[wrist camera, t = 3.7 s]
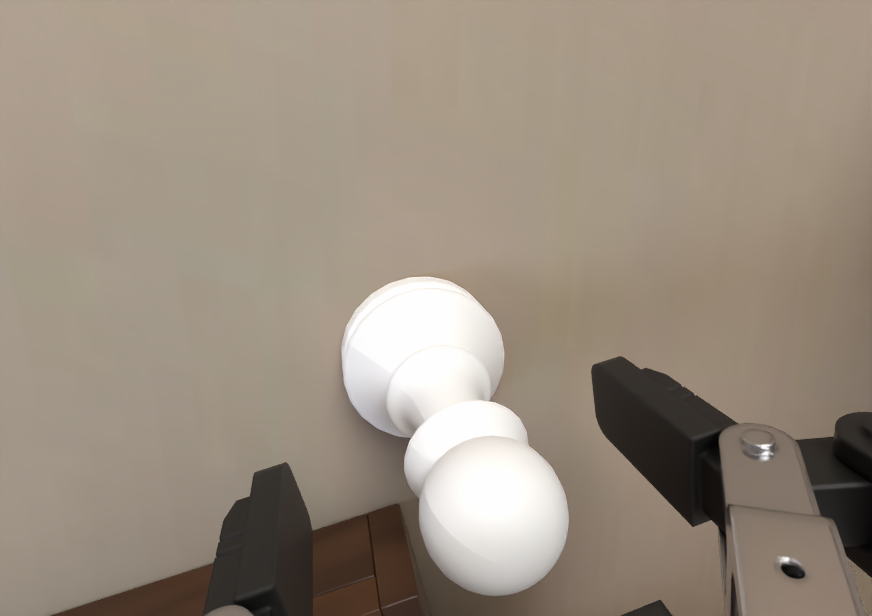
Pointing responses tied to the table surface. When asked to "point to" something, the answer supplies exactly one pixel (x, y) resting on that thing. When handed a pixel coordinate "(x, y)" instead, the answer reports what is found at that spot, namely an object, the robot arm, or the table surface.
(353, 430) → the table surface
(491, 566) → the chess pawn
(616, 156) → the table surface
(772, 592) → the robot arm
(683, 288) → the table surface
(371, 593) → the shelf
